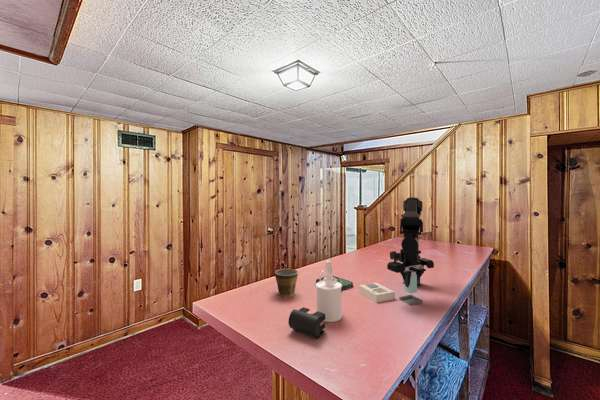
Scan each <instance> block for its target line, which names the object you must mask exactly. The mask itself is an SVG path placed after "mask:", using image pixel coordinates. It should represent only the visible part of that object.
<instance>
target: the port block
mask: <svg viewBox="0 0 600 400" xmlns="http://www.w3.org/2000/svg"><path fill="white" fill-rule="evenodd" d="M358 289H359V293H360V294H361V295H363V296H364V297H366V298H368V299H369V300H371V301H373V302H375V304H376V303H382V302H387V301H392V300H395V299H396V298H395V297H396V294H395V291H394V290H391V289H390V288H388V287H386V286H384V285H382V284H380V283H378V282H373V283H371V282H370V283H366V284H360V285H359V286H358Z"/></svg>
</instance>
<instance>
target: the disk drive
mask: <svg viewBox="0 0 600 400" xmlns="http://www.w3.org/2000/svg"><path fill="white" fill-rule="evenodd" d="M324 277H325V276H321V281H322V280H323V279H324ZM332 277H334V278H337V282H339V283H341V284H342V288H341V292H343V291H346V290H348V289H351V288H353V287H354V282H353V281H350V280H348V279H344V278H340V277H338V276H334V275H332ZM323 281H325V279H324V280H323ZM333 281H334V279H333ZM318 282H320V279H319V278H317V279H315V284H316V283H318Z"/></svg>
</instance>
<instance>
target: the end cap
mask: <svg viewBox="0 0 600 400" xmlns="http://www.w3.org/2000/svg"><path fill="white" fill-rule="evenodd" d="M308 312H310V308H307V307H304V306H303V307H301V308H299V309H295V308H294V309H293V310H291V311H290V313H289V316H288V327H289V328H290V329H292V330H294V331H295V332H299V333H301V334H304V335H307V336H310V337H312V338H315V339H319V338H320V337H322V336H323V335H324V334H325V333H326V331H325V330H324V329H325V328H326V322H324V320H325V314H324V313H322V312H318V311H317V310H316V311H315V312H314V313H308ZM322 322H323V324H322Z"/></svg>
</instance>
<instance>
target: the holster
mask: <svg viewBox="0 0 600 400" xmlns="http://www.w3.org/2000/svg"><path fill="white" fill-rule="evenodd" d="M398 300H399V301H402V302H403V303H405V304H407V305H409V306H414V305H419V304H423V299H421V298H419V297H416V296H415V295H413V294H407V295H401V296H399V299H398Z"/></svg>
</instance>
